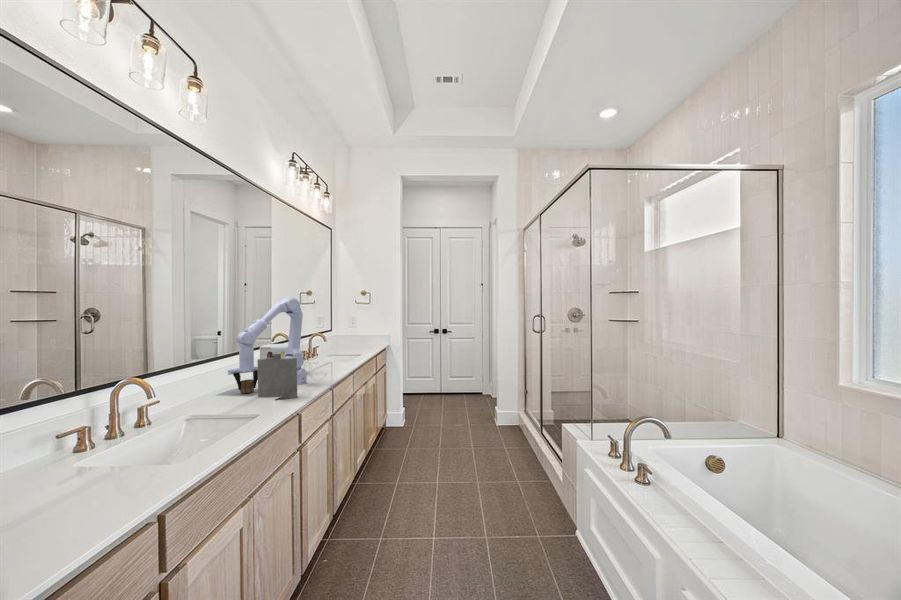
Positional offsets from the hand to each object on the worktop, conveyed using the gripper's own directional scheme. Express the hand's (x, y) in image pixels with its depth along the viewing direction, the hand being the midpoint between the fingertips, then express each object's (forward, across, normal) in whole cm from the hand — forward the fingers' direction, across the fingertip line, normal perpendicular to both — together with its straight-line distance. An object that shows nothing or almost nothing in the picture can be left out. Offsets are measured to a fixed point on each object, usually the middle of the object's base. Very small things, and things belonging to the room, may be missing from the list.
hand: (247, 388), depth 165 cm
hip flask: (+4, +10, -14) cm, 18 cm away
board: (+3, -1, +3) cm, 5 cm away
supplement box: (+4, +21, +38) cm, 44 cm away
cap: (+1, 0, 0) cm, 1 cm away
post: (+2, 0, 0) cm, 2 cm away
